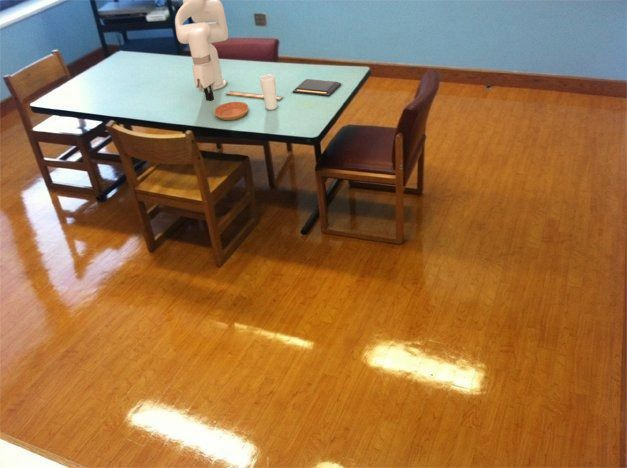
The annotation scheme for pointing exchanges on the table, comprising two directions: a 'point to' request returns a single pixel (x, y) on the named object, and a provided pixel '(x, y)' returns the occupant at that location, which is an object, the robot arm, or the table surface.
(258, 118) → the table surface
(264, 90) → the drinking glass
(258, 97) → the ruler
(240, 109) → the saucer
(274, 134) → the table surface
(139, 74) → the table surface
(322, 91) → the wallet
